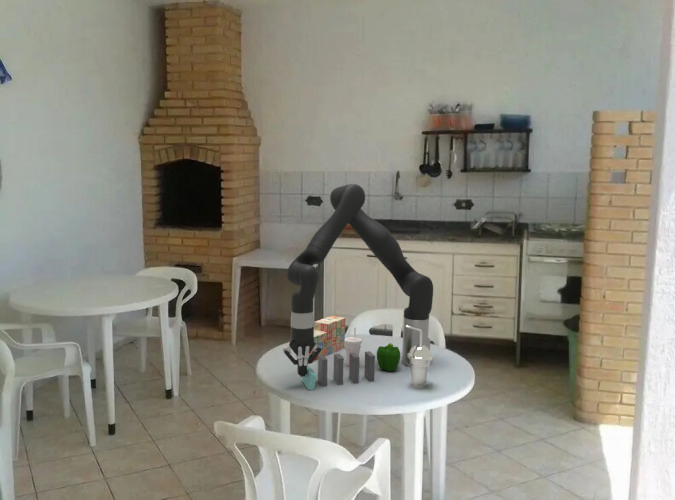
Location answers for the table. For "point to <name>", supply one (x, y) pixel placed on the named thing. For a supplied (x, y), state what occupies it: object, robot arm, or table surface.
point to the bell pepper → (388, 357)
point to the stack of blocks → (329, 335)
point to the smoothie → (352, 345)
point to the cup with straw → (419, 362)
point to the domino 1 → (309, 379)
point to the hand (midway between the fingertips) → (302, 375)
